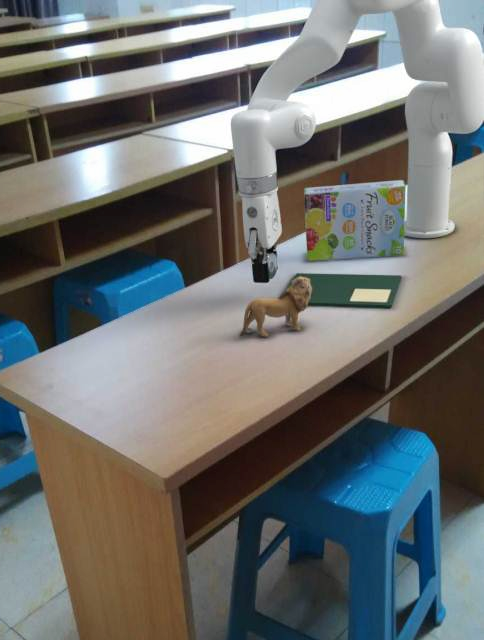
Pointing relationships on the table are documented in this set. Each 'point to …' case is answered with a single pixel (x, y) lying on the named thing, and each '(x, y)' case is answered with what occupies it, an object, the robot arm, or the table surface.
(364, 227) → the snack box
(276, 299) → the lion figurine
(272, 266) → the grooved metal pulley
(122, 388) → the table surface
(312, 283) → the desk mat
